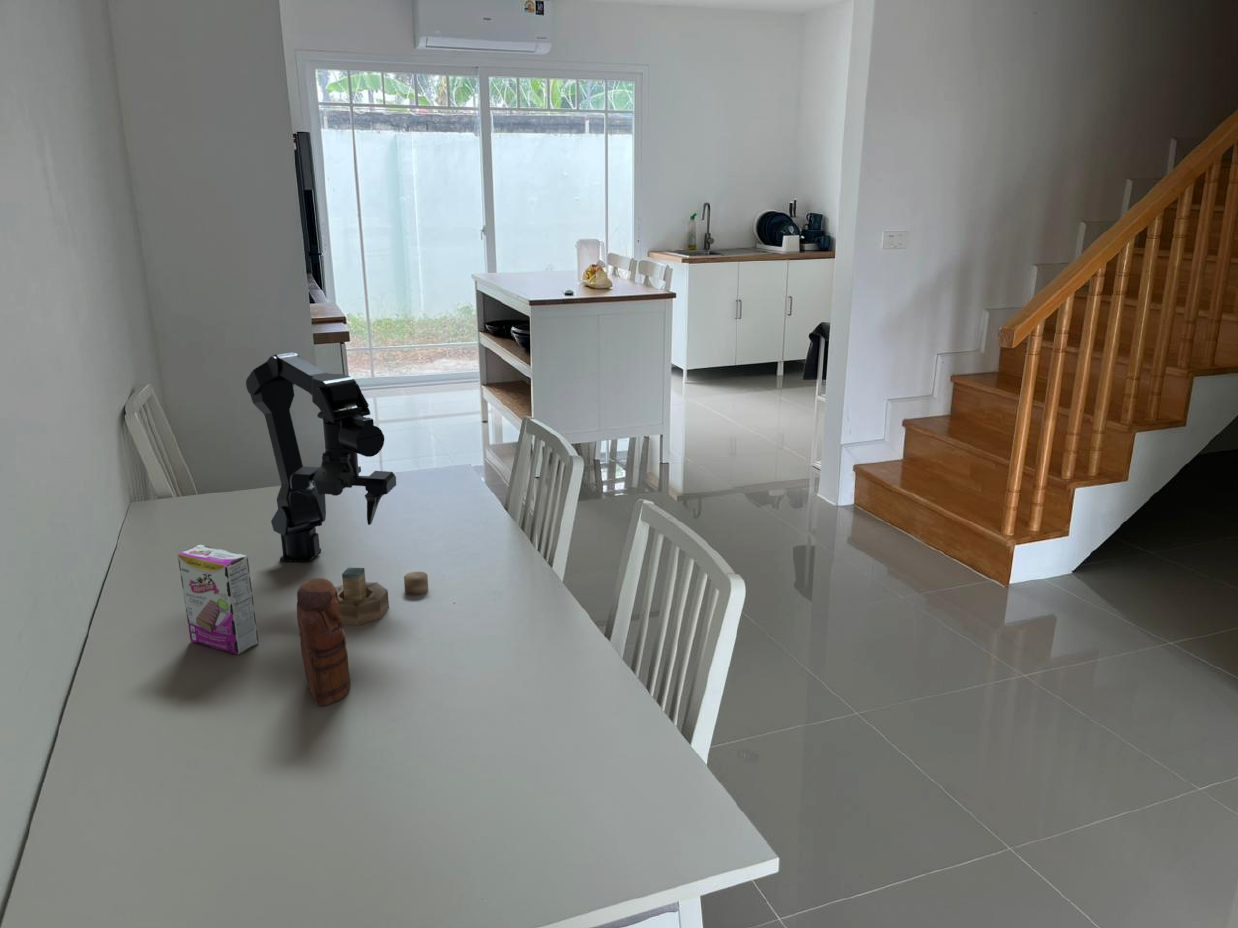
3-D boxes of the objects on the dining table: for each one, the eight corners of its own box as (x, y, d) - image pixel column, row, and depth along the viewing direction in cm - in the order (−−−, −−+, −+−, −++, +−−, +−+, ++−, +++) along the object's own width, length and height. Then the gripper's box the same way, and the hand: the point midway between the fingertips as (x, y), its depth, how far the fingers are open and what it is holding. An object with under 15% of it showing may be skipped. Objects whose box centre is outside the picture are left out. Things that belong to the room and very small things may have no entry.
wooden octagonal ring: (317, 623, 167) (316, 605, 166) (340, 597, 177) (338, 580, 176) (375, 625, 166) (373, 607, 165) (394, 600, 176) (393, 583, 175)
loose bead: (401, 595, 178) (400, 580, 177) (408, 585, 182) (407, 571, 182) (424, 596, 178) (423, 581, 177) (431, 586, 182) (430, 572, 181)
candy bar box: (188, 643, 160) (175, 553, 155) (211, 630, 164) (199, 543, 159) (237, 656, 155) (225, 564, 151) (260, 643, 160) (249, 553, 155)
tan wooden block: (345, 614, 170) (341, 573, 168) (352, 607, 173) (348, 567, 171) (361, 615, 170) (358, 574, 168) (367, 608, 173) (364, 567, 170)
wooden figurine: (356, 700, 143) (346, 591, 137) (313, 710, 140) (301, 599, 135) (341, 665, 153) (331, 562, 147) (300, 674, 150) (289, 569, 145)
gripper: (272, 454, 168) (280, 535, 173) (373, 460, 167) (378, 542, 171) (299, 437, 179) (306, 513, 184) (395, 442, 177) (399, 519, 182)
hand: (346, 522), depth 180 cm, fingers open, 9 cm apart
